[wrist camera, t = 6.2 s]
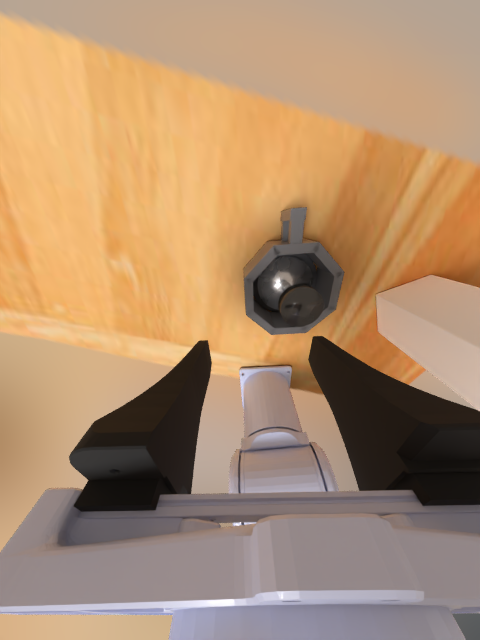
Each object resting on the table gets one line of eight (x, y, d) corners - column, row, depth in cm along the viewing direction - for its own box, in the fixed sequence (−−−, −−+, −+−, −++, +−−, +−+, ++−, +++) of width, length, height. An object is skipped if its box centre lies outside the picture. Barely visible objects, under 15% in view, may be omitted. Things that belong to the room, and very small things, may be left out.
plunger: (307, 306, 21) (332, 337, 15) (257, 309, 21) (264, 341, 15) (314, 253, 18) (349, 268, 12) (256, 257, 18) (264, 273, 12)
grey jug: (316, 314, 22) (330, 331, 18) (246, 318, 22) (247, 336, 19) (334, 207, 16) (360, 203, 13) (240, 214, 17) (240, 212, 13)
